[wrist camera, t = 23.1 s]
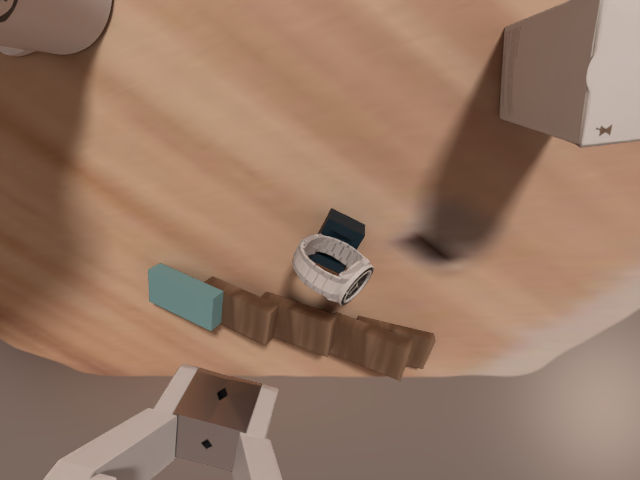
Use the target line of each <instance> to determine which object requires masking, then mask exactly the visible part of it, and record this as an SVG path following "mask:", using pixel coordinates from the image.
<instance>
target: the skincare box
mask: <svg viewBox="0 0 640 480" xmlns="http://www.w3.org/2000/svg"><path fill="white" fill-rule="evenodd" d="M500 119H502V120H505V121H508V122H511V123H514V124H518V125H521V126H523V127H526V128H529V129H533V130H536V131H539V132H542V133H545V134H548V135H550V136H553V137H556V138H560V139H563V140H566V141H568V142H571V143H573V144H575V145H577V146H579V147H580V148H583V147H592V146H601V145H609V144H617V143H626V142H634V141H640V0H570V1H567V2H565V3H562V4H560V5H557V6H555V7H552V8H550V9H547V10H545V11H542V12H540V13H537V14H535V15H533V16H530V17H528V18H525V19H522V20H520V21H518V22H515V23H513V24H510V25H508V26H506V27H505V32H504V46H503V62H502V78H501V95H500Z"/></svg>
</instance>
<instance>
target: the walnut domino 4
mask: <svg viewBox="0 0 640 480" xmlns="http://www.w3.org/2000/svg"><path fill="white" fill-rule="evenodd" d="M357 320H360V321H362V322H365V323H368V324H371V325H373V326H376V327H379V328H382V329H384V330H387V331H390V332H393V333H395V334H398V335H401V336H404V337H406V338H409V339H412V340H413V342H412V346H411V350H410V353H409V356H408V359H407V362H406V365H407V366H411V367H415V368H419V369H423V367H424V365H425V363H426V361H427V359H428V356H429V354H430V352H431V350H432V348H433V345H434V343H435V337H434V334H433V333H429V332H425V331H421V330H416V329H412V328H408V327H404V326H400V325H395V324H391V323H387V322H383V321H379V320H374V319H370V318H366V317H362V316H358V319H357Z"/></svg>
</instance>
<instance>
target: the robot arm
mask: <svg viewBox="0 0 640 480" xmlns="http://www.w3.org/2000/svg"><path fill="white" fill-rule="evenodd" d="M111 4H112V0H0V52H1V53H3V54H5V55H9V56H15V57H19V56H24V55H27V54H30V53H32V52H35V51H39V52H46V53H52V54H60V55H64V54H73V53H76V52H79V51H82V50H84V49H85V48H87V47H88V46H90V45H91V44H92V43H93V42H94V41H95V40H96V39H97V38H98V37H99V36H100V34H101V33H102V31H103V29H104V27H105V25H106V23H107V20H108V18H109V14H110V10H111ZM278 390H279V389H278V388H275V387H271V386H267V385H262V384H261V383H257V382H253V381H249V380H245V379H241V378H237V377H233V376H231V377H230V376H227V375H223V374H220V373H216V372H213V371H210V370H206V369H203V368H199V367H195V366H192V365H188V364H182V365H181V366H180V367H179V369H178V370H177V372H176V373H175V375H174V377H173V378H172V380H171V382H170V383H169V385H168V386H167V388H166V389H165V391H164V393H163V394H162V396H161V397H160V399H159V401H158V402H157V404H156V405H155V407H154V409H151V408H147V409H145V410H144V411H142V412H140V413H139V414H137V415H135V416H133V417H132V418H130V419H128V420H126V421H125V422H123V423H121V424H120V425H118V426H116V427H115V428H113V429H111V430H110V431H108V432H106V433H104V434H103V435H101V436H99V437H98V438H96V439H94V440H92V441H91V442H89V443H87V444H86V445H84V446H82V447H80V448H79V449H77V450H76V451H74V452H72V453H70V454H68V455H67V456H65V457H63V458H62V459H60V460H59V461H58V462H57V463H56V465H55V466H54V467H53V468H52V469H51V471H50V472H49V473H48V474H47V476H46V477H45V478H44V479H43V480H150V479H152V478H153V477H154V476H155V475H156V474H158V473H159V472H160V471H161V470H162V469H164V468H165V467H166V466H167V465H168V464H169V463H171V462H172V461H173V460H174V459H175V457H177V458H182V459H186V460H190V461H194V462H199V463H203V464H207V465H210V466H214V467H217V468H220V469H223V470H227V471H231V472H233V473H232V475H233V480H282V477H281V474H280V470H279V467H278V464H277V461H276V458H275V454H274V452H273V448H272V445H271V442H270V440H268V439H266V438H267V434H268V431H269V427H270V423H271V418H272V414H273V411H274V407H275V403H276V398H277V394H278Z"/></svg>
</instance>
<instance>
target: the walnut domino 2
mask: <svg viewBox="0 0 640 480" xmlns="http://www.w3.org/2000/svg"><path fill="white" fill-rule="evenodd" d="M261 298H263V299H265V300H268V301H270V302H272V303H275V304H277V305H279V309H278V315H277V321H276V326H275V332H274V336H273V337H275V338H278V339H281V340H283V341H286V342H289V343H291V344H294V345H297V346H299V347H302V348H305V349H307V350H310V351H313V352H315V353H318V354H321V355H323V356H326V357H328V355H329V353H330V351H331V350H332V348H333V343H334V337H335V330H336V324H337V317H338V315H335V314H332V313H329V312H326V311H323V310H320V309H317V308H314V307H311V306H308V305H305V304H302V303H299V302H296V301H293V300H290V299H287V298H284V297H281V296H278V295H275V294H272V293H269V292H265V293H264V294H263V295H262V296H261Z"/></svg>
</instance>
